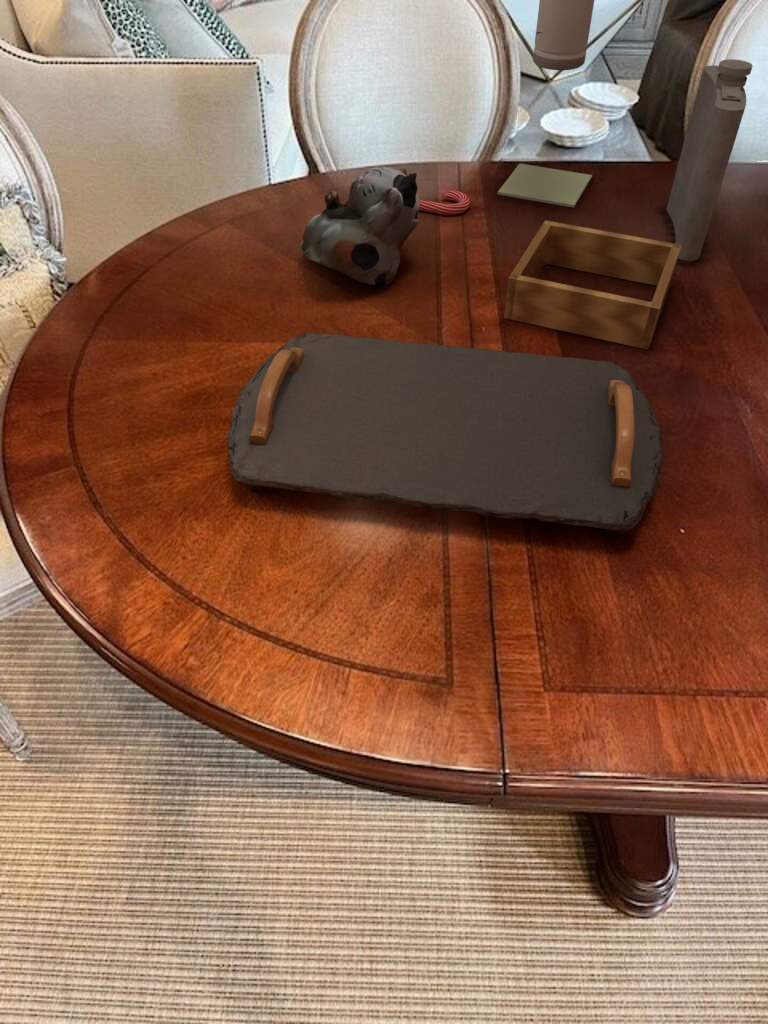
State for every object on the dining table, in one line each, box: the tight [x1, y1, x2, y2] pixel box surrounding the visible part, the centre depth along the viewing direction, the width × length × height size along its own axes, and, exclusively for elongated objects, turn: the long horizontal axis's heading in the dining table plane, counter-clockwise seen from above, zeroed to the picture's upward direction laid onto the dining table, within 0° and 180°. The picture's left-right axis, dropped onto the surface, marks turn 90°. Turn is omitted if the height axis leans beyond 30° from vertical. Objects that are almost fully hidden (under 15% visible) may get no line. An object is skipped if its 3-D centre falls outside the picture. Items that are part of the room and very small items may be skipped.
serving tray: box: [226, 332, 665, 537], centre depth 70 cm, size 39×23×6 cm, turn 80°
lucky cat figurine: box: [298, 166, 421, 288], centre depth 92 cm, size 15×12×14 cm
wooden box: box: [503, 220, 682, 350], centre depth 88 cm, size 16×15×5 cm
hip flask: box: [666, 58, 754, 262], centre depth 95 cm, size 16×4×20 cm, turn 169°
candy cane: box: [419, 189, 471, 216], centre depth 108 cm, size 6×15×2 cm, turn 68°
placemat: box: [496, 163, 593, 208], centre depth 112 cm, size 11×11×1 cm
